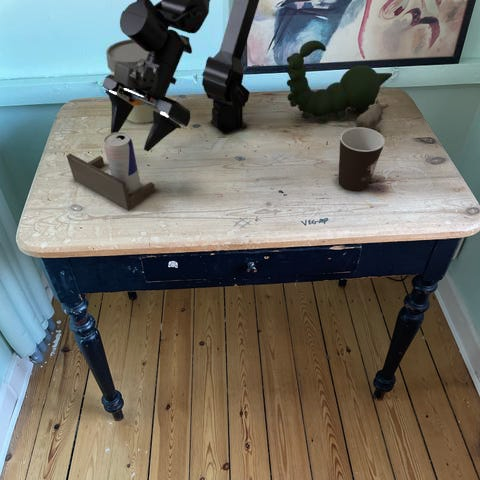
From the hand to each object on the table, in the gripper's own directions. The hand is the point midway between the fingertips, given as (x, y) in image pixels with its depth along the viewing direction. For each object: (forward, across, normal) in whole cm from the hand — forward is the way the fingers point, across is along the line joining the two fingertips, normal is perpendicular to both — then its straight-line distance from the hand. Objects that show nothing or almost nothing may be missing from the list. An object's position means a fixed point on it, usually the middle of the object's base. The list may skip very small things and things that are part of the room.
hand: (129, 142), depth 96 cm
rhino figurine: (-28, +28, +42) cm, 57 cm away
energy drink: (+9, 0, +5) cm, 10 cm away
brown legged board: (+9, -4, +5) cm, 11 cm away
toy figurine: (-28, +18, +42) cm, 54 cm away
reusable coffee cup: (-8, -20, +23) cm, 31 cm away
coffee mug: (-14, +36, +28) cm, 48 cm away
